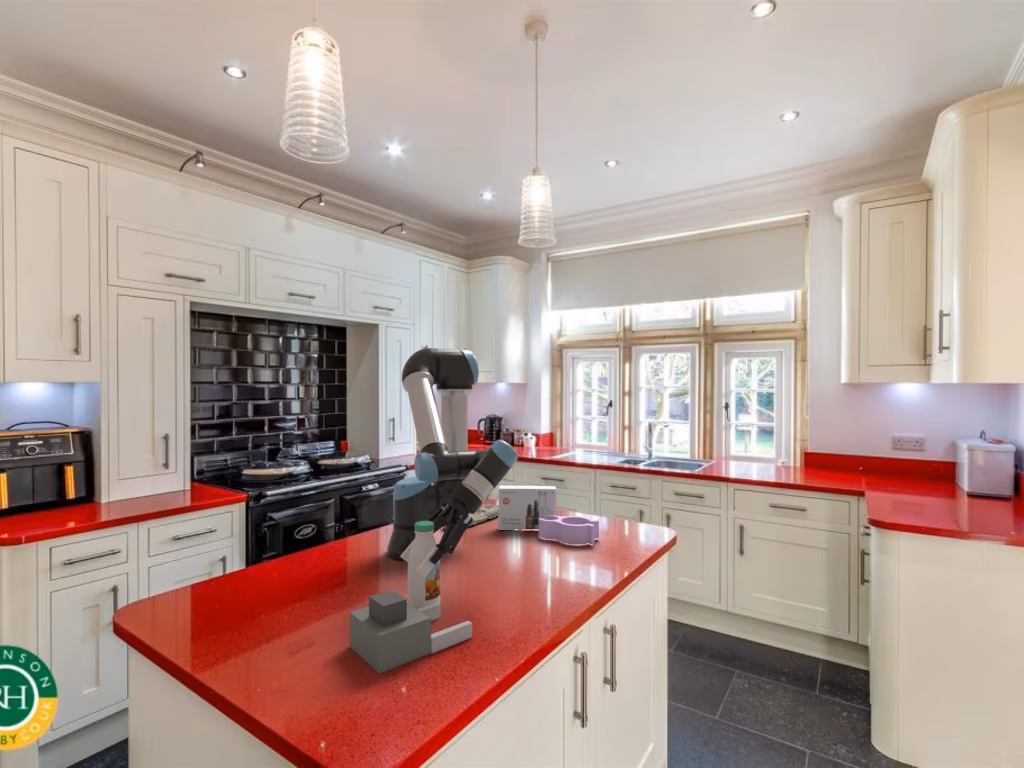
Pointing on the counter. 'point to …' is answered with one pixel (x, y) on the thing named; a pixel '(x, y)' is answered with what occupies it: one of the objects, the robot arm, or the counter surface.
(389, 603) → the stacked grey blocks
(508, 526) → the skincare box
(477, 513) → the long grey stone
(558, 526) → the clip
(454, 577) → the counter surface
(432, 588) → the milk bottle
